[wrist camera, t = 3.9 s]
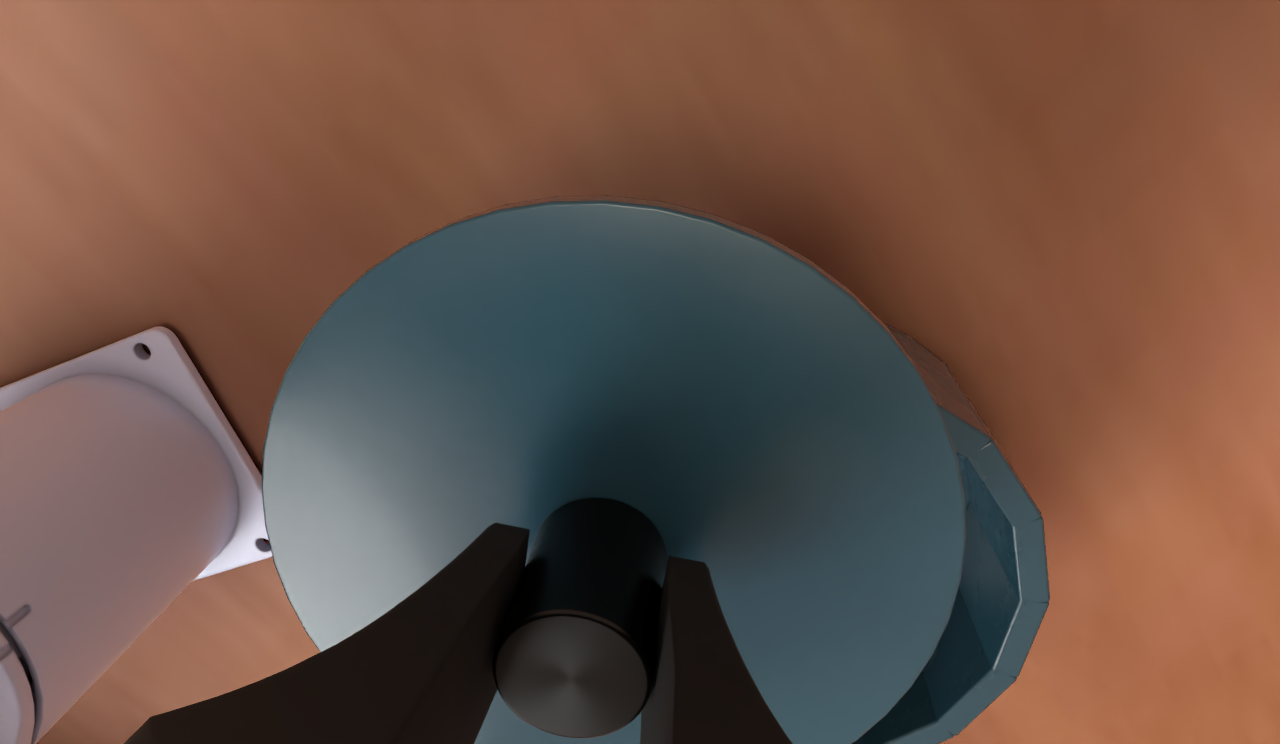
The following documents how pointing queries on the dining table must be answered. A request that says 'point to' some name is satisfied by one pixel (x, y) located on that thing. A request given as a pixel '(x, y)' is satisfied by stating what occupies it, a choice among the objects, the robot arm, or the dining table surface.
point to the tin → (975, 580)
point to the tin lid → (622, 462)
